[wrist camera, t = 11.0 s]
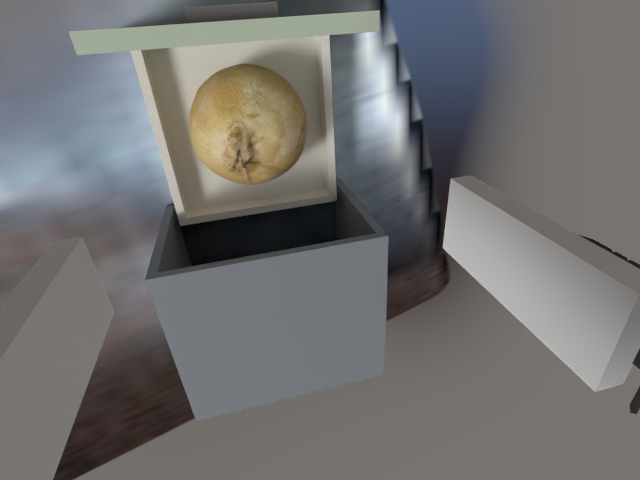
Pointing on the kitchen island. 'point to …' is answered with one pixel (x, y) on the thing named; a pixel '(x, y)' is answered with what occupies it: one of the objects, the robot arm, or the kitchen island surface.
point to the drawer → (216, 54)
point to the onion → (247, 124)
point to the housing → (274, 314)
